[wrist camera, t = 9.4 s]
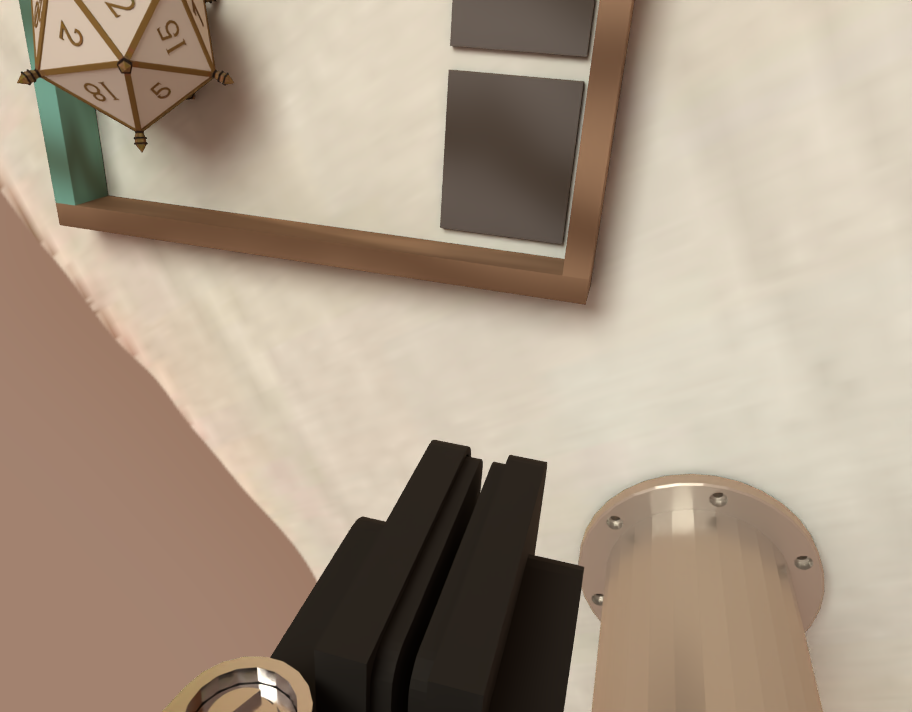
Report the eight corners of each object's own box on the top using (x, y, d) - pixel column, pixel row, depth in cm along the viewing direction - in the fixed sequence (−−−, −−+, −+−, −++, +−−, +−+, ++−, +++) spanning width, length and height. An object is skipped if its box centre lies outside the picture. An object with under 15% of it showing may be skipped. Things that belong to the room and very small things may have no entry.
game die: (208, 67, 39) (37, 154, 34) (131, -114, 33) (-86, -37, 29) (305, 94, 34) (117, 200, 29) (233, -116, 28) (-15, -22, 23)
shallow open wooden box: (590, 286, 34) (585, 304, 32) (92, 214, 40) (59, 224, 38) (667, -212, 26) (667, -234, 24) (24, -215, 32) (-24, -233, 30)
